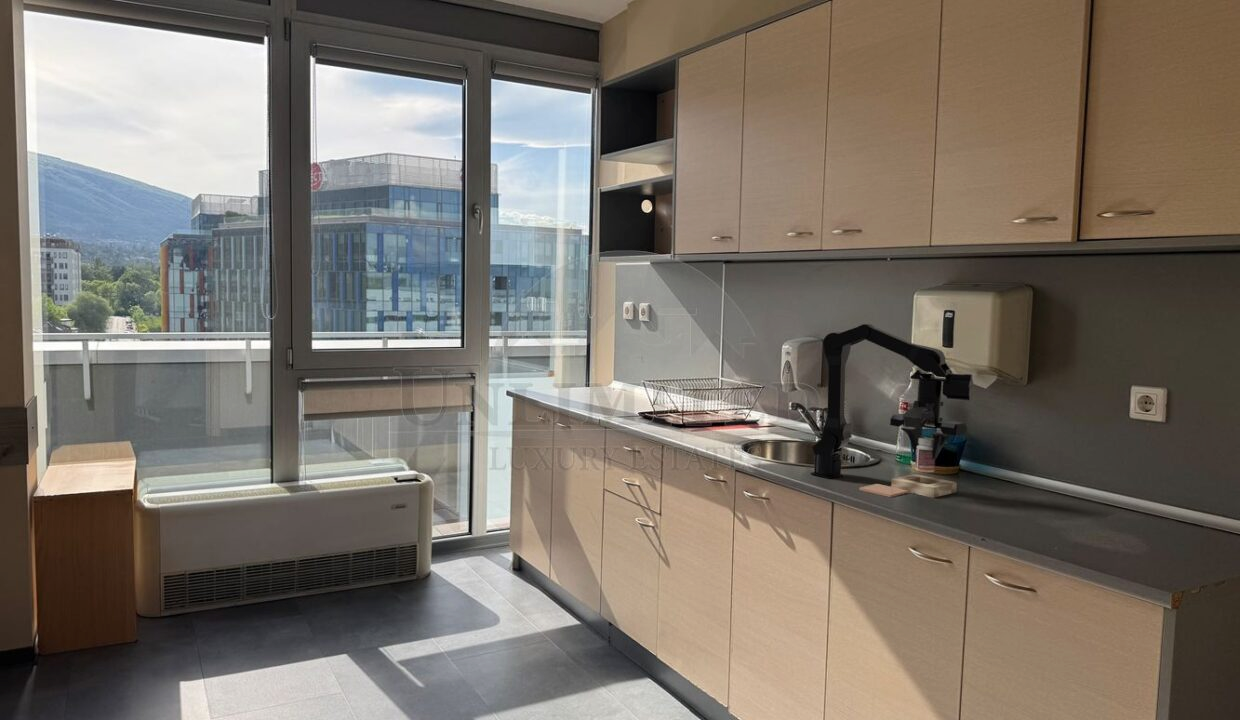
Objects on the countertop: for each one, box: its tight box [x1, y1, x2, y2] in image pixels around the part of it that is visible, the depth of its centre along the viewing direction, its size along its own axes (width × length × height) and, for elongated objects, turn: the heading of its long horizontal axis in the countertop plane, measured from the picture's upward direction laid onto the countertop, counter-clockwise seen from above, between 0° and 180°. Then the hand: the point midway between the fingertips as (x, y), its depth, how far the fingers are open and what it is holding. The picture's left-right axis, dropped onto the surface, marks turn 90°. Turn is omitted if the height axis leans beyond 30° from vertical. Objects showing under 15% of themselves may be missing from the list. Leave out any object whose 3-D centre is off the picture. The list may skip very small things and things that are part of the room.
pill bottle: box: [914, 437, 936, 473], centre depth 218 cm, size 5×5×8 cm
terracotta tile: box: [859, 483, 909, 498], centre depth 216 cm, size 9×8×1 cm
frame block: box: [890, 473, 957, 498], centre depth 219 cm, size 12×11×2 cm
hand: (925, 457), depth 218 cm, fingers closed on pill bottle, 5 cm apart
